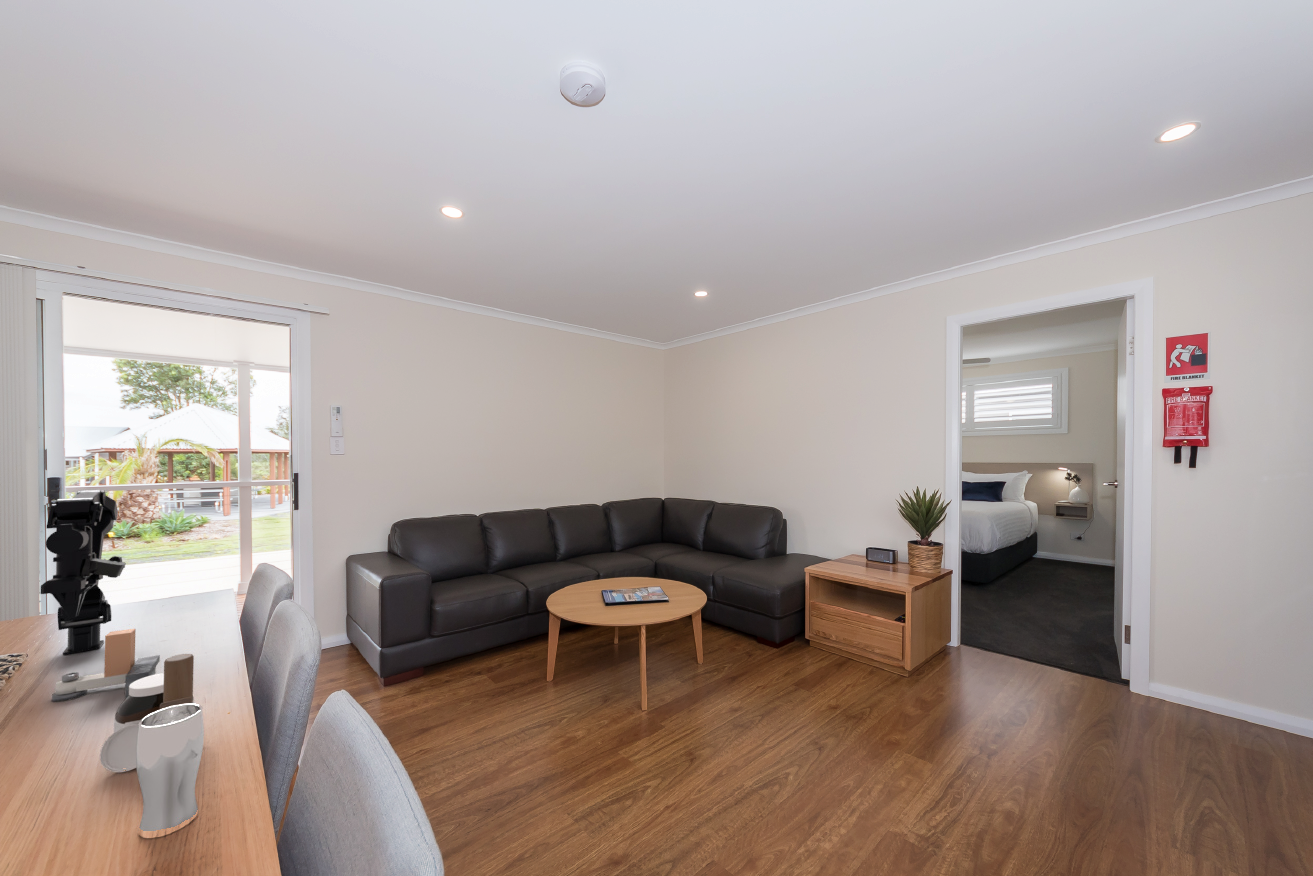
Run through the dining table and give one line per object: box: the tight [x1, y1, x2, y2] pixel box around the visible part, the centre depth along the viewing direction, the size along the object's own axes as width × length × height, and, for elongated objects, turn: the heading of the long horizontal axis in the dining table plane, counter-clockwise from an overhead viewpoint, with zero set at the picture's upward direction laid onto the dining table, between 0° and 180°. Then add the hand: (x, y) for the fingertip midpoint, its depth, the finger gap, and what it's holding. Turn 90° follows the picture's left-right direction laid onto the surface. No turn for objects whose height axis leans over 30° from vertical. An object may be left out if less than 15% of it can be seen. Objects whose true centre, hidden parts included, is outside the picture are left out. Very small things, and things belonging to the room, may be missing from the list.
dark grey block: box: [124, 654, 161, 700], centre depth 114 cm, size 4×11×5 cm, turn 35°
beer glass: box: [135, 703, 205, 831], centre depth 73 cm, size 7×7×15 cm
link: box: [55, 628, 157, 695], centre depth 113 cm, size 15×4×11 cm, turn 121°
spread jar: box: [99, 672, 195, 773], centre depth 90 cm, size 12×11×12 cm
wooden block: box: [160, 653, 195, 710], centre depth 83 cm, size 4×11×18 cm, turn 41°
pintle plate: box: [51, 672, 89, 703], centre depth 110 cm, size 5×5×4 cm
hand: (73, 617), depth 124 cm, fingers closed
